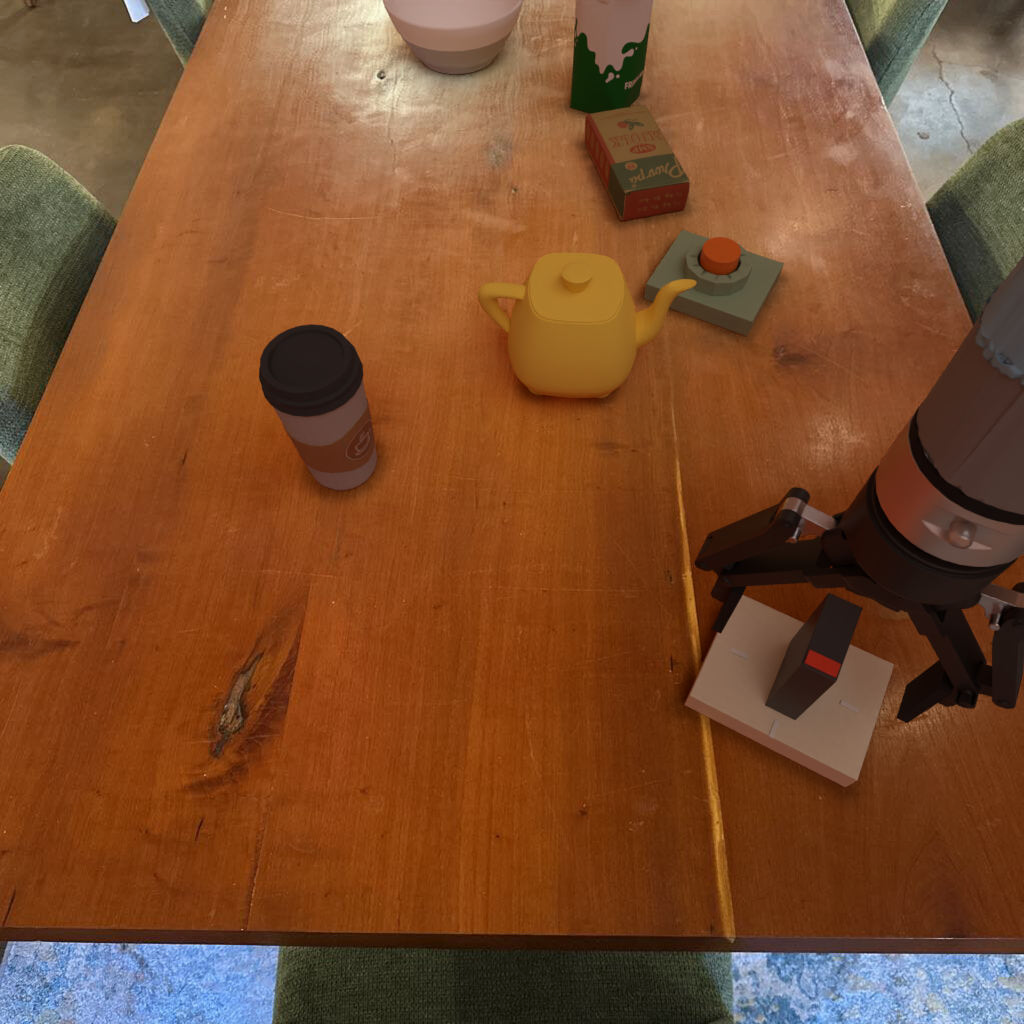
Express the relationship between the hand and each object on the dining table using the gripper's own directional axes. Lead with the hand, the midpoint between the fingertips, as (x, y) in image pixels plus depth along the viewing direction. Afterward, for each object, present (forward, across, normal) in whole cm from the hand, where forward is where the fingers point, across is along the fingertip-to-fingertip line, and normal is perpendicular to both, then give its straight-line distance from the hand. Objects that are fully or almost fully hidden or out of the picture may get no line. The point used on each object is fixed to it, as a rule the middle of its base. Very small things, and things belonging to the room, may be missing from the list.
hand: (811, 659), depth 55 cm
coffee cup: (+7, -44, +1) cm, 45 cm away
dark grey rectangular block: (+5, 0, 0) cm, 5 cm away
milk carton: (+7, -48, +67) cm, 83 cm away
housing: (+7, -22, +40) cm, 46 cm away
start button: (+3, -22, +40) cm, 46 cm away
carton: (+7, -38, +54) cm, 66 cm away
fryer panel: (+7, 0, 0) cm, 7 cm away
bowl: (+7, -72, +68) cm, 99 cm away
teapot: (+7, -30, +23) cm, 38 cm away
